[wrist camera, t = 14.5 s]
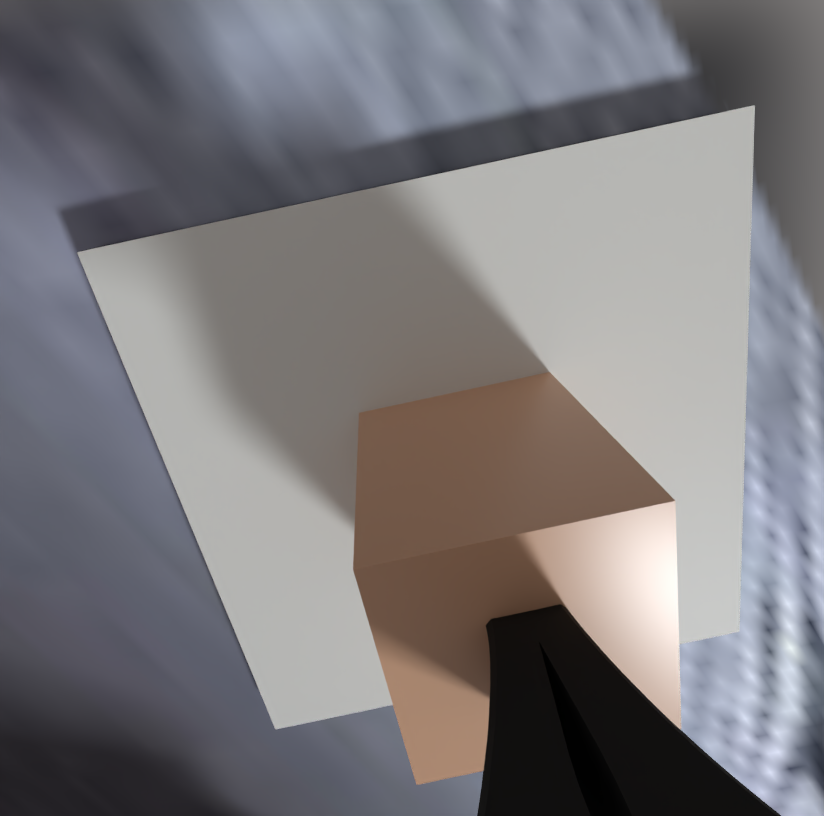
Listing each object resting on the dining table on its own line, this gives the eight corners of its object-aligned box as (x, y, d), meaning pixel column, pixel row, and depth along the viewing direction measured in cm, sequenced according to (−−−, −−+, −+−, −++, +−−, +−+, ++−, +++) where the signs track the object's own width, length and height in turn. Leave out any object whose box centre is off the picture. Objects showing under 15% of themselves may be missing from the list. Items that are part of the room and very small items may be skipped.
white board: (279, 704, 20) (245, 904, 14) (96, 247, 14) (-85, 289, 8) (721, 610, 20) (860, 776, 14) (728, 110, 14) (971, 60, 8)
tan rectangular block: (399, 568, 17) (416, 784, 11) (359, 412, 15) (353, 569, 9) (567, 532, 17) (680, 729, 11) (549, 371, 15) (675, 500, 9)
